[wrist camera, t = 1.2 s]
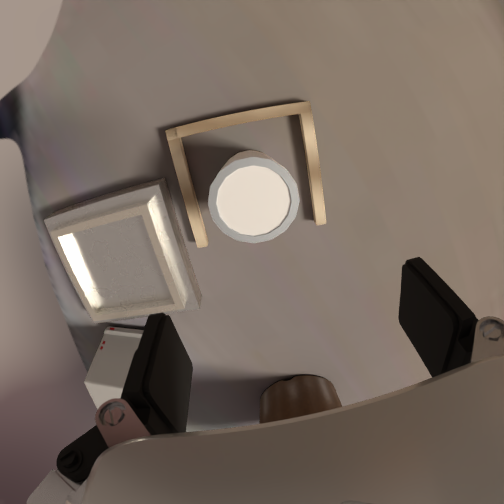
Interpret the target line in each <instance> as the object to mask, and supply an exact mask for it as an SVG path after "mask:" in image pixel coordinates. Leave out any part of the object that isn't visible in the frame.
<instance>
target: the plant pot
mask: <svg viewBox="0 0 504 504" xmlns="http://www.w3.org/2000/svg"><path fill="white" fill-rule="evenodd" d="M340 407H342V405H341V402H340V400H339V398H338V395H337V393H336V390H335V388H334V386H333V384H332V383H331V382H330V381H329V380H327V379H325V378H322V377H318V376H312V375H303V376H295V377H294V378H292V379H291V380H288V381H282V380H281V381H279V382H277V383H275V384H273V385H272V386H270V387H269V388H268V389H267V390H266V391H265V392H264V393H263V395H262V396H261V399H260V424H262V423H268V422H274V421H280V420H285V419H291V418H296V417H301V416H305V415H310V414H315V413H319V412H323V411H328V410H332V409H336V408H340Z"/></svg>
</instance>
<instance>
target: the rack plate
mask: <svg viewBox="0 0 504 504" xmlns="http://www.w3.org/2000/svg"><path fill="white" fill-rule="evenodd" d="M44 222H45V225H46V227H47V230H48V232H49V234H50V237H51V239H52V241H53V244H54V246H55V248H56V251H57V253H58V255H59V257H60V259H61V262H62V264H63V266H64V268H65V270H66V272H67V274H68V276H69V278H70V280H71V282H72V284H73V286H74V288H75V290H76V292H77V294H78V296H79V298H80V300H81V301H82V303H83V305H84V307H85V309H86V311H87V312H88V314H89V316H90V318H91V319H92V321H93V323H102V322H110V321H118V320H126V319H134V318H141V317H148V316H149V315H150V314H156V313H162V312H163V313H164V314H170V313H176V312H183V311H190V310H196V309H200V305H201V299H202V294H201V291H200V288H199V285H198V282H197V279H196V276H195V273H194V270H193V267H192V264H191V261H190V258H189V255H188V252H187V249H186V246H185V243H184V239H183V236H182V233H181V230H180V227H179V223H178V220H177V217H176V213H175V210H174V207H173V203H172V200H171V197H170V193H169V190H168V186H167V183H166V179H165V178H161V179H158V180H154V181H150V182H147V183H143V184H139V185H136V186H132V187H129V188H125V189H122V190H119V191H115V192H112V193H109V194H105V195H102V196H99V197H96V198H93V199H90V200H87V201H84V202H80V203H77V204H75V205H72V206H69V207H66V208H63V209H60V210H57V211H55V212H53V213H52V214H51V215H49V216H48V217H47V218H46V219H44Z"/></svg>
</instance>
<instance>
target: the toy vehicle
mask: <svg viewBox="0 0 504 504" xmlns="http://www.w3.org/2000/svg"><path fill="white" fill-rule="evenodd" d="M143 331H144V330H137V329H127V328H118V327H110V326H108V327H107V328H105V331H104V336H103V338H102V340H101V343H100V345H99V347H98V349H97V352H96V354H95V356H94V359H93V361H92V363H91V366H90V368H89V371H88V373H87V375H86V378H85V380H84V383H85V385H86V387H87V389H88V391H89V393H90V395H91V397H92V399H93V401H94V403H95V405H96V407H97V409H98V408H99V407H100V406H101V405H102V404H103V403H104V402H106V401H108V400H110V399H114V398H121V394H122V391H123V388H124V384H125V381H126V378H127V375H128V371H129V368H130V365H131V362H132V359H133V356H134V353H135V351H136V349H138V346H139V343H140V340H141V337H142V334H143Z"/></svg>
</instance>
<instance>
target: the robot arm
mask: <svg viewBox="0 0 504 504" xmlns="http://www.w3.org/2000/svg"><path fill="white" fill-rule="evenodd" d="M399 322H400V325H401V326H402V328H403V330H404V331H405V333H406V334H407V336H408V338H409V339H410V341H411V342H412V344H413V346H414V347H415V349H416V351H417V352H418V354H419V356H420V357H421V359H422V361H423V362H424V364H425V366H426V367H427V369H428V371H429V373H430V374H431V376H432V378H430V379H428V380H425V381H422V382H419V383H417V384H414V385H411V386H409V387H406V388H403V389H400V390H397V391H394V392H391V393H388V394H385V395H382V396H378V397H375V398H372V399H368V400H365V401H362V402H358V403H355V404H351V405H347V406H343V407H340V408H336V409H332V410H328V411H323V412H319V413H315V414H310V415H305V416H301V417H296V418H291V419H285V420H280V421H274V422H268V423H262V424H256V425H249V426H242V427H234V428H225V429H216V430H206V431H196V432H186V424H187V415H188V405H189V396H190V387H191V379H192V371H193V367H192V362H191V360H190V358H189V356H188V354H187V352H186V350H185V348H184V346H183V343H182V341H181V339H180V337H179V335H178V333H177V331H176V329H175V326H174V324H173V322H172V320H171V318H170V316H169V315H165V314H164V313H163V312H162V313H156V314H150V315H149V316H148V319H147V322H146V325H145V328H144V331H143V334H142V337H141V340H140V343H139V346H138V349H136V351H135V353H134V356H133V359H132V362H131V365H130V368H129V371H128V375H127V378H126V381H125V384H124V388H123V391H122V394H121V398H114V399H110V400H108V401H106V402H104V403H103V404H102V405H101V406H100V407H99V408H98V410H97V412H96V414H95V422H96V426H95V427H93V428H92V429H90V430H89V431H88V432H86V433H85V434H84V435H82V436H81V437H79V438H78V439H76V440H75V441H74V442H72V443H71V444H69V445H68V446H66V447H65V448H64V449H63V450H62V451H61V452H60V453H59V455H58V458H57V468H58V469H57V470H56V471H54V470H52V471H51V472H50V473H49V474H48V475H47V476H46V478H45V479H44V480H43V481H42V482H41V484H40V485H39V486H38V487H37V488H36V489H35V491H34V492H33V493H32V494H31V496H30V497H29V499H28V500H27V504H504V321H503V320H501V319H499V318H496V317H490V316H488V317H484V318H482V319H480V320H478V319H477V318H476V317H475V314H474V313H473V312H472V311H471V310H470V309H469V308H468V307H467V305H466V304H465V303H464V302H463V301H462V300H461V299H460V298H459V297H458V296H457V294H456V293H455V292H454V291H453V290H452V289H451V288H450V287H449V286H448V285H447V284H446V283H445V282H444V281H443V280H442V279H441V278H440V277H439V276H438V275H437V273H436V272H435V271H434V270H433V269H432V268H431V267H430V266H429V265H428V264H427V263H426V262H425V261H424V260H423V259H422V258H420V257H417V258H413V259H409V260H407V261H406V262H405V264H404V265H403V266H402V279H401V294H400V306H399Z"/></svg>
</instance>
